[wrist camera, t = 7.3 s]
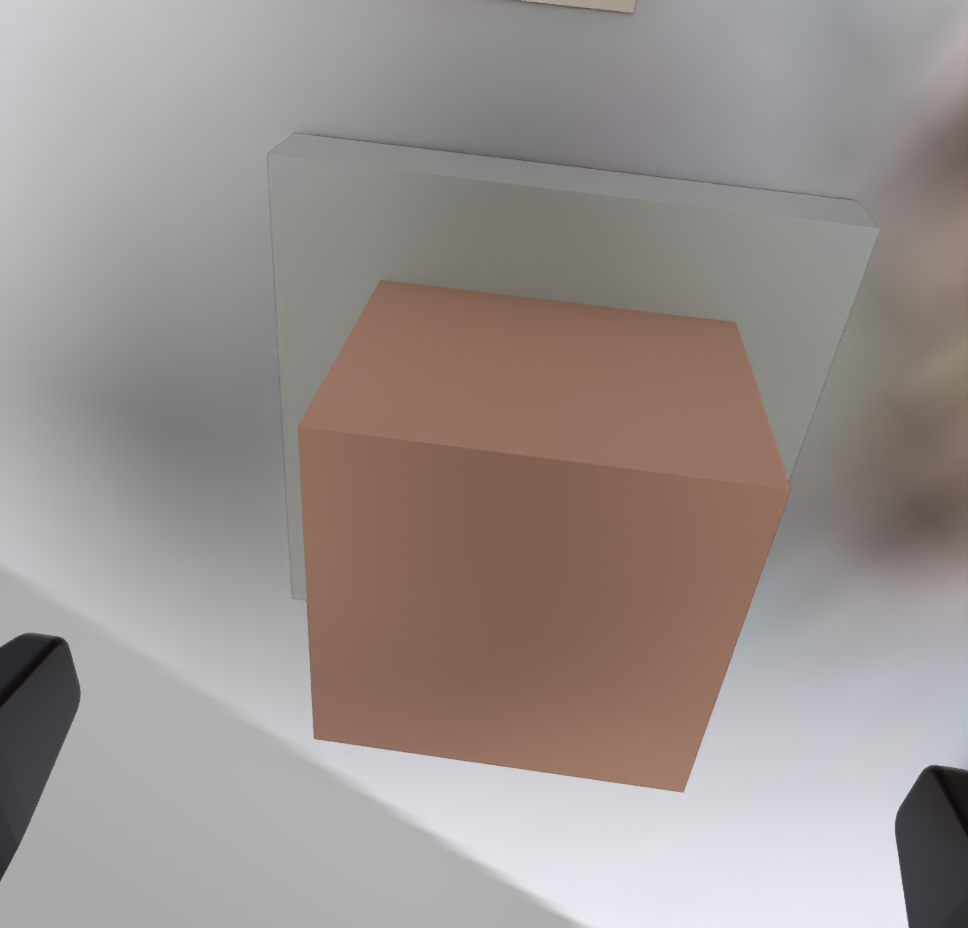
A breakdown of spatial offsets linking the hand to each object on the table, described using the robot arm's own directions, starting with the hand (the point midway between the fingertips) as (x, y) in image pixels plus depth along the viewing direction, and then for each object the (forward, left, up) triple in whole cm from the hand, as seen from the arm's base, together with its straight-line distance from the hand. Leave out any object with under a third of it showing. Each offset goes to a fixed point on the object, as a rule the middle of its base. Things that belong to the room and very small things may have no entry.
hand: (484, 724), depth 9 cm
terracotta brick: (0, 0, -5) cm, 5 cm away
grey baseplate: (0, 0, -6) cm, 7 cm away
